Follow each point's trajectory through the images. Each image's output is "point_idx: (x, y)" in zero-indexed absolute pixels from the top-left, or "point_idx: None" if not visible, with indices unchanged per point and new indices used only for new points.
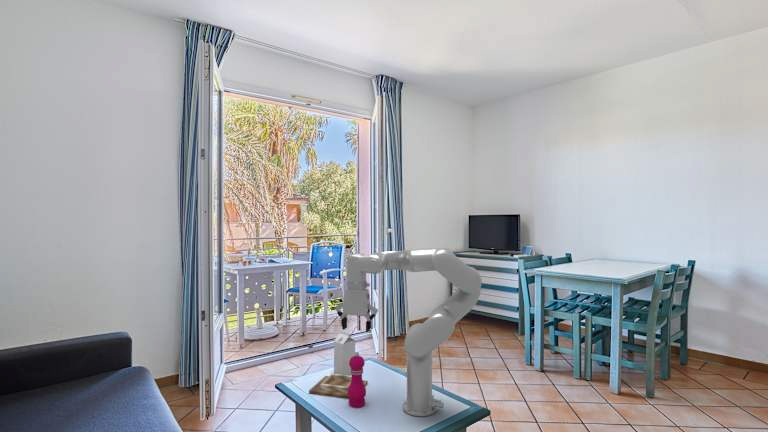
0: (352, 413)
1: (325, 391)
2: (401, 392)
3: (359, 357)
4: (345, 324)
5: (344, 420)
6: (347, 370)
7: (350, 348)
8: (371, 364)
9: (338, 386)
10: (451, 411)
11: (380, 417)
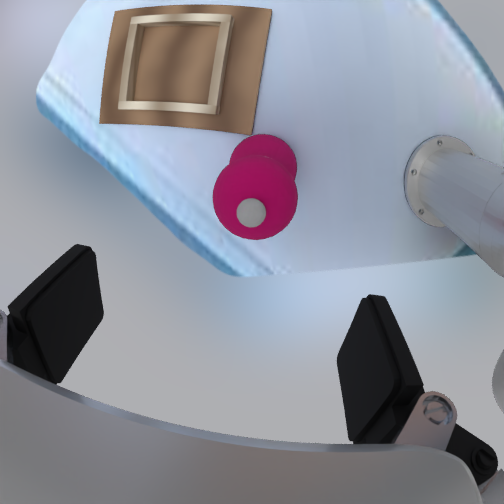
0: None
1: (145, 115)
2: (397, 74)
3: (270, 218)
4: (78, 314)
5: (250, 255)
6: None
7: None
8: None
9: (181, 108)
10: None
11: (343, 232)
